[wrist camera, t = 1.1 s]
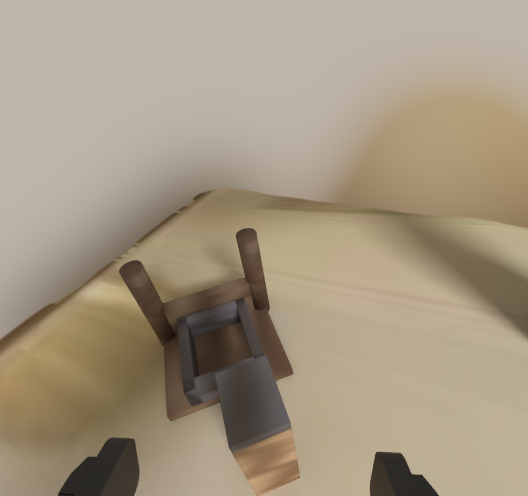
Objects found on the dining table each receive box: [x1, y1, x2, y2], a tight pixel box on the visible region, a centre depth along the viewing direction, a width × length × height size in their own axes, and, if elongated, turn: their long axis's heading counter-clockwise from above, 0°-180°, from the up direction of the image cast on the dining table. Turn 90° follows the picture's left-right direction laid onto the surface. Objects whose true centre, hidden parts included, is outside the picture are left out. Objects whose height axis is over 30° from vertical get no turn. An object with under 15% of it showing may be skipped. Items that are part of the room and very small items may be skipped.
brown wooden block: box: [215, 355, 300, 496], centre depth 23 cm, size 4×5×12 cm
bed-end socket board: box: [119, 228, 293, 421], centre depth 32 cm, size 15×12×13 cm
